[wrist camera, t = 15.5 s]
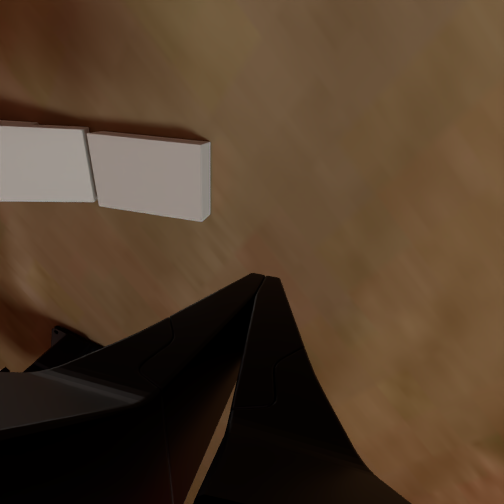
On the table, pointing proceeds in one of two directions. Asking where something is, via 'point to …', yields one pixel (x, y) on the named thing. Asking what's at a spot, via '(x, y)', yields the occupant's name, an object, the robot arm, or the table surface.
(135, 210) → the domino
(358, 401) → the table surface
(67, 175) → the domino
